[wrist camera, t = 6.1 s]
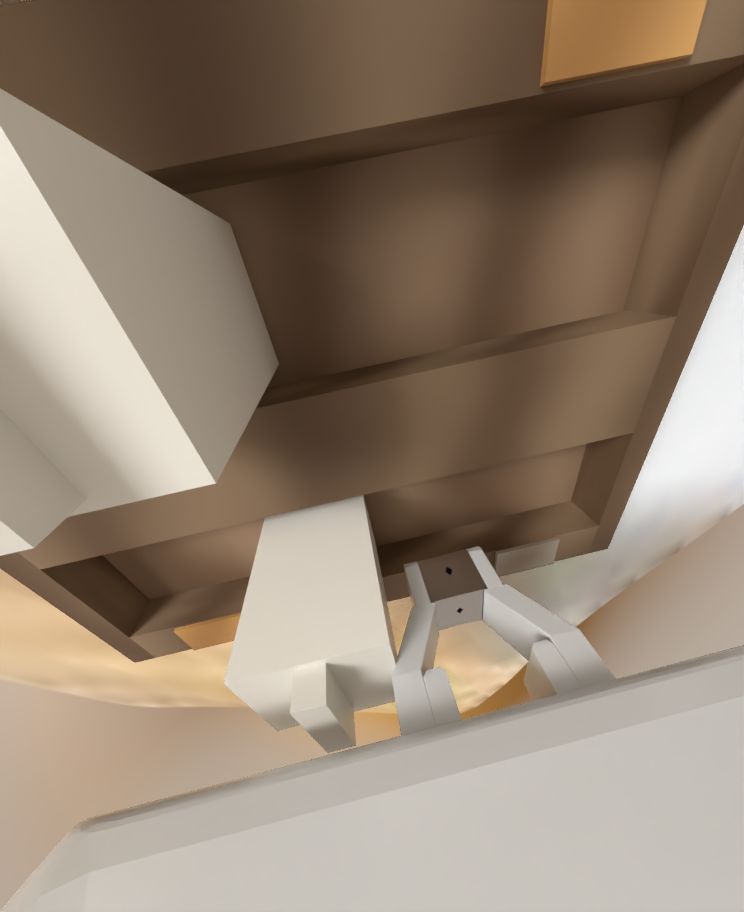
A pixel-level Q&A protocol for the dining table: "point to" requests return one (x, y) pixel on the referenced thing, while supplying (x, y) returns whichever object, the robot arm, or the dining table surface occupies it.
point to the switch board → (407, 266)
